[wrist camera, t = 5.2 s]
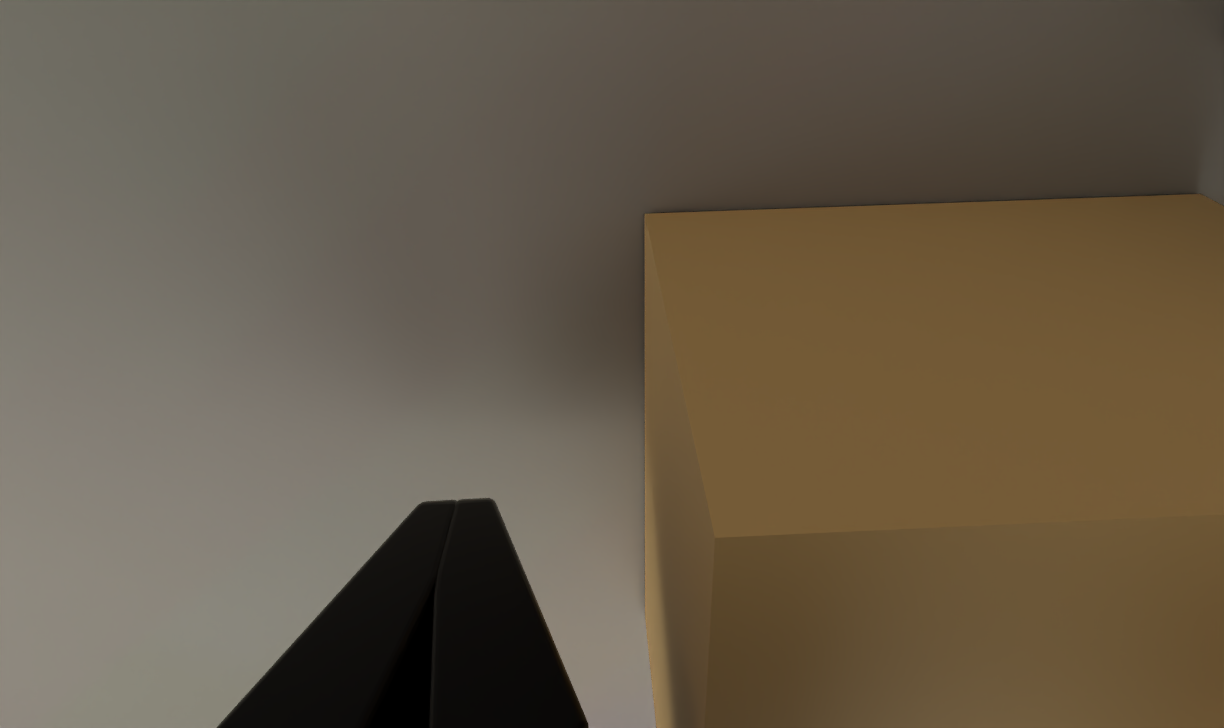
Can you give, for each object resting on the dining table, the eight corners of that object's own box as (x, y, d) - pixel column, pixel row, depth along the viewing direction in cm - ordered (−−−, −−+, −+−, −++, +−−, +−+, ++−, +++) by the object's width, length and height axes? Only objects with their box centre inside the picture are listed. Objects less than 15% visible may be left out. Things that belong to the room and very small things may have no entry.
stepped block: (1061, 595, 12) (1446, 1167, 7) (645, 615, 12) (707, 1217, 7) (1200, 193, 9) (2097, 660, 4) (645, 214, 9) (755, 730, 4)
